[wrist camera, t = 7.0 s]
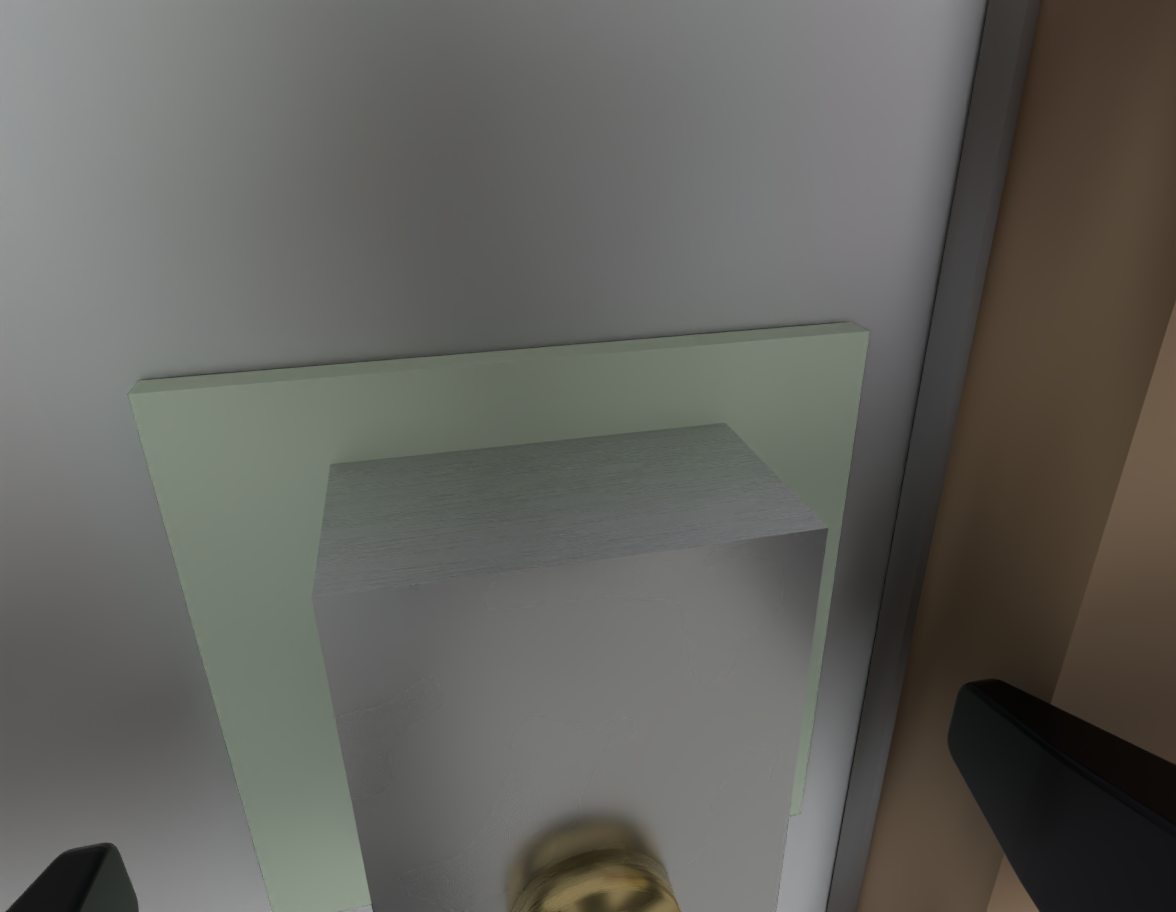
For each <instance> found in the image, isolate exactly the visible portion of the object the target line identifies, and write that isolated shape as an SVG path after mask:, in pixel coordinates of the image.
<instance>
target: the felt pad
mask: <svg viewBox="0 0 1176 912" xmlns="http://www.w3.org/2000/svg"><path fill="white" fill-rule="evenodd" d="M869 334H870V331H869V330H867V329H865V328H863V327H861V326H860V325H858V324H856V323H854V322H843V323H831V324H818V325H806V326H794V327H782V328H770V329H758V330H746V331H734V332H721V333H709V334H697V335H685V336H673V337H661V338H649V339H637V340H624V341H612V342H600V343H588V344H576V345H564V346H552V347H540V348H528V349H515V350H503V351H491V352H479V353H467V354H455V355H443V356H431V357H418V358H406V359H394V360H382V361H370V362H358V363H346V364H334V365H321V366H309V367H297V368H285V369H273V370H261V371H249V372H237V373H225V374H212V375H200V376H188V377H176V378H164V379H152V380H140V381H138V382H137V383H136V384H135V386H134V387H133V388H132V389H131V391H130V392H129V393H128V394H127V395H128V398H129V402H130V405H131V409H132V412H133V416H134V420H135V423H136V427H137V430H138V434H139V437H140V441H141V444H142V448H143V452H144V455H145V459H146V462H147V466H148V469H149V473H150V477H151V480H152V484H153V487H154V491H155V494H156V498H157V502H158V505H159V509H160V512H161V516H162V519H163V523H164V527H165V530H166V534H167V537H168V541H169V544H170V548H171V551H172V555H173V559H174V562H175V566H176V569H177V573H178V576H179V580H180V584H181V587H182V591H183V594H184V598H185V601H186V605H187V609H188V612H189V616H190V619H191V623H192V626H193V630H194V634H195V637H196V641H197V644H198V648H199V651H200V655H201V658H202V662H203V666H204V669H205V673H206V676H207V680H208V683H209V687H210V691H211V694H212V698H213V701H214V705H215V708H216V712H217V716H218V719H219V723H220V726H221V730H222V733H223V737H224V741H225V744H226V748H227V751H228V755H229V758H230V762H231V765H232V769H233V773H234V776H235V780H236V783H237V787H238V790H239V794H240V798H241V801H242V805H243V808H244V812H245V815H246V819H247V823H248V826H249V830H250V833H251V837H252V840H253V844H254V848H255V851H256V855H257V858H258V862H259V865H260V869H261V872H262V876H263V880H264V883H265V887H266V890H267V894H268V897H269V901H270V905H271V908H272V912H339V911H344V910H349V909H354V908H358V907H363V906H368V905H372V904H371V899H370V894H369V888H368V883H367V878H366V873H365V868H364V863H363V858H362V853H361V848H360V843H359V838H358V833H357V827H356V822H355V817H354V812H353V807H352V802H351V797H350V792H349V787H348V782H347V777H346V772H345V767H344V761H343V756H342V751H341V746H340V741H339V736H338V731H337V726H336V721H335V716H334V711H333V706H332V700H331V695H330V690H329V685H328V680H327V675H326V670H325V665H324V660H323V655H322V650H321V645H320V639H319V634H318V629H317V624H316V619H315V614H314V609H313V604H312V592H313V584H314V577H315V570H316V563H317V556H318V549H319V542H320V534H321V527H322V520H323V513H324V506H325V499H326V492H327V484H328V477H329V470H330V464H338V463H347V462H357V461H366V460H376V459H385V458H395V457H404V456H414V455H423V454H433V453H442V452H452V451H461V450H470V449H480V448H489V447H499V446H508V445H518V444H527V443H537V442H546V441H556V440H565V439H575V438H584V437H593V436H603V435H612V434H622V433H631V432H641V431H650V430H660V429H669V428H679V427H688V426H698V425H707V424H716V423H726V424H727V425H728V426H729V427H730V428H731V429H732V430H733V431H734V432H735V433H736V434H737V435H738V436H739V437H740V438H741V439H742V440H743V441H744V442H745V443H746V444H747V445H748V446H749V447H750V448H751V449H752V450H753V451H754V452H755V453H756V455H757V456H758V457H759V458H760V459H761V460H762V461H763V462H764V463H765V464H766V465H767V466H768V467H769V468H770V469H771V470H772V471H773V472H774V473H775V474H776V475H777V476H778V477H779V478H780V479H781V480H782V481H783V482H784V483H785V484H786V485H787V486H788V487H789V488H790V489H791V490H792V491H793V492H794V494H795V495H796V496H797V497H798V498H799V499H800V500H801V501H802V502H803V503H804V504H805V505H806V506H807V507H808V508H809V509H810V510H811V511H812V512H813V513H814V514H815V515H816V516H817V517H818V518H819V519H820V520H821V521H822V522H823V523H824V524H825V525H826V526H827V527H828V534H827V541H826V549H825V556H824V563H823V571H822V578H821V585H820V593H819V600H818V607H817V615H816V622H815V629H814V637H813V644H812V651H811V659H810V666H809V673H808V681H807V688H806V695H805V703H804V710H803V717H802V725H801V732H800V739H799V747H798V754H797V761H796V769H795V776H794V783H793V791H792V798H791V805H790V813H789V816H793V815H798V814H800V812H801V805H802V798H803V791H804V784H805V777H806V770H807V763H808V757H809V750H810V743H811V736H812V729H813V722H814V715H815V708H816V701H817V694H818V687H819V680H820V673H821V666H822V659H823V653H824V646H825V639H826V632H827V625H828V618H829V611H830V604H831V597H832V590H833V583H834V576H835V569H836V562H837V556H838V549H839V542H840V535H841V528H842V521H843V514H844V507H845V500H846V493H847V486H848V479H849V472H850V465H851V458H852V452H853V445H854V438H855V431H856V424H857V417H858V410H859V403H860V396H861V389H862V382H863V375H864V368H865V361H866V355H867V348H868V341H869Z"/></svg>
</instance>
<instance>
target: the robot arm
mask: <svg viewBox="0 0 1176 912" xmlns="http://www.w3.org/2000/svg"><path fill="white" fill-rule="evenodd" d="M947 744H948V749H949V752H950V755H951V757H952V759H953V761H954V763H955V765H956V767H957V769H958V770H959V772H960V774H961V776H962V778H963V780H964V781H965V783H966V785H967V787H968V789H969V791H970V792H971V794H972V796H973V798H974V800H975V802H976V803H977V805H978V807H979V809H980V811H981V813H982V814H983V816H984V818H985V820H986V822H987V824H988V825H989V827H990V829H991V831H992V833H993V835H994V836H995V838H996V840H997V842H998V844H999V846H1000V847H1001V849H1002V851H1003V853H1004V855H1005V857H1006V858H1007V860H1008V862H1009V864H1010V865H1011V867H1012V869H1013V871H1014V872H1015V874H1016V876H1017V877H1018V879H1019V881H1020V883H1021V884H1022V886H1023V887H1024V889H1025V890H1026V892H1027V894H1028V895H1029V897H1030V898H1031V900H1032V901H1033V903H1034V904H1035V906H1036V907H1037V909H1038V910H1039V912H1176V765H1175V764H1173V763H1171V762H1169V761H1167V760H1165V759H1163V758H1161V757H1159V756H1157V755H1155V754H1153V753H1151V752H1149V751H1147V750H1145V749H1142V748H1140V747H1138V746H1136V745H1134V744H1132V743H1130V742H1128V741H1126V740H1124V739H1122V738H1120V737H1118V736H1116V735H1114V734H1112V733H1109V732H1107V731H1105V730H1103V729H1101V728H1099V727H1097V726H1095V725H1093V724H1091V723H1089V722H1087V721H1085V720H1083V719H1081V718H1078V717H1076V716H1074V715H1072V714H1070V713H1068V712H1066V711H1064V710H1062V709H1060V708H1058V707H1056V706H1054V705H1052V704H1050V703H1048V702H1045V701H1043V700H1041V699H1039V698H1037V697H1035V696H1033V695H1031V694H1029V693H1027V692H1025V691H1023V690H1021V689H1019V688H1017V687H1015V686H1012V685H1010V684H1008V683H1006V682H1004V681H1002V680H999V679H994V678H989V679H983V680H978V681H972V682H967V683H965V684H963V685H962V686H961V687H960V688H959V689H958V692H957V694H956V699H955V703H954V707H953V711H952V715H951V719H950V724H949V728H948V732H947ZM6 912H139V908H138V901H137V897H136V894H135V891H134V889H133V886H132V883H131V881H130V878H129V876H128V873H127V871H126V868H125V865H124V863H123V860H122V858H121V855H120V853H119V851H118V849H117V847H116V846H114V845H113V844H111V843H100V844H95V845H89V846H84V847H79V848H73V849H69V850H67V851H65V852H63V853H62V854H60V855H59V856H58V857H57V858H56V859H55V860H54V861H53V862H52V863H51V864H50V865H49V866H48V867H47V868H46V869H45V870H44V871H43V872H42V873H41V874H40V876H39V877H38V878H37V879H36V880H35V881H34V882H33V883H32V884H31V885H30V886H29V887H28V888H27V889H26V891H25V892H24V893H23V894H22V895H21V896H20V897H19V898H18V899H17V900H16V901H15V902H14V903H13V904H12V905H11V907H10V908H9V909H8V910H7V911H6Z"/></svg>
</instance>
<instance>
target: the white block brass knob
mask: <svg viewBox="0 0 1176 912" xmlns="http://www.w3.org/2000/svg"><path fill="white" fill-rule="evenodd" d="M827 534H828V527H827V526H826V525H825V524H824V523H823V522H822V521H821V520H820V519H819V518H818V517H817V516H816V515H815V514H814V513H813V512H812V511H811V510H810V509H809V508H808V507H807V506H806V505H805V504H804V503H803V502H802V501H801V500H800V499H799V498H798V497H797V496H796V495H795V494H794V492H793V491H792V490H791V489H790V488H789V487H788V486H787V485H786V484H785V483H784V482H783V481H782V480H781V479H780V478H779V477H778V476H777V475H776V474H775V473H774V472H773V471H772V470H771V469H770V468H769V467H768V466H767V465H766V464H765V463H764V462H763V461H762V460H761V459H760V458H759V457H758V456H757V455H756V453H755V452H754V451H753V450H752V449H751V448H750V447H749V446H748V445H747V444H746V443H745V442H744V441H743V440H742V439H741V438H740V437H739V436H738V435H737V434H736V433H735V432H734V431H733V430H732V429H731V428H730V427H729V426H728V425H727V424H726V423H716V424H707V425H698V426H688V427H679V428H669V429H660V430H650V431H641V432H631V433H622V434H612V435H603V436H593V437H584V438H575V439H565V440H556V441H546V442H537V443H527V444H518V445H508V446H499V447H489V448H480V449H470V450H461V451H452V452H442V453H433V454H423V455H414V456H404V457H395V458H385V459H376V460H366V461H357V462H347V463H338V464H330V470H329V477H328V484H327V492H326V499H325V506H324V513H323V520H322V527H321V534H320V542H319V549H318V556H317V563H316V570H315V577H314V584H313V592H312V604H313V609H314V614H315V619H316V624H317V629H318V634H319V639H320V645H321V650H322V655H323V660H324V665H325V670H326V675H327V680H328V685H329V690H330V695H331V700H332V706H333V711H334V716H335V721H336V726H337V731H338V736H339V741H340V746H341V751H342V756H343V761H344V767H345V772H346V777H347V782H348V787H349V792H350V797H351V802H352V807H353V812H354V817H355V822H356V827H357V833H358V838H359V843H360V848H361V853H362V858H363V863H364V868H365V873H366V878H367V883H368V888H369V894H370V899H371V904H372V909H373V912H776V908H777V901H778V893H779V886H780V879H781V871H782V864H783V857H784V849H785V842H786V835H787V827H788V820H789V813H790V805H791V798H792V791H793V783H794V776H795V769H796V761H797V754H798V747H799V739H800V732H801V725H802V717H803V710H804V703H805V695H806V688H807V681H808V673H809V666H810V659H811V651H812V644H813V637H814V629H815V622H816V615H817V607H818V600H819V593H820V585H821V578H822V571H823V563H824V556H825V549H826V541H827Z"/></svg>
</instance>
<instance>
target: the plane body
mask: <svg viewBox="0 0 1176 912" xmlns="http://www.w3.org/2000/svg"><path fill="white" fill-rule="evenodd" d="M989 678H994V679H999V680H1002V681H1004V682H1006V683H1008V684H1010V685H1012V686H1015V687H1017V688H1019V689H1021V690H1023V691H1025V692H1027V693H1029V694H1031V695H1033V696H1035V697H1037V698H1039V699H1041V700H1043V701H1045V702H1048V703H1050V704H1052V705H1054V706H1056V707H1058V708H1060V709H1062V710H1064V711H1066V712H1068V713H1070V714H1072V715H1074V716H1076V717H1078V718H1081V719H1083V720H1085V721H1087V722H1089V723H1091V724H1093V725H1095V726H1097V727H1099V728H1101V729H1103V730H1105V731H1107V732H1109V733H1112V734H1114V735H1116V736H1118V737H1120V738H1122V739H1124V740H1126V741H1128V742H1130V743H1132V744H1134V745H1136V746H1138V747H1140V748H1142V749H1145V750H1147V751H1149V752H1151V753H1153V754H1155V755H1157V756H1159V757H1161V758H1163V759H1165V760H1167V761H1169V762H1171V763H1173V764H1175V765H1176V0H989V3H988V9H987V14H986V20H985V26H984V31H983V37H982V42H981V48H980V54H979V59H978V65H977V70H976V76H975V82H974V87H973V93H972V99H971V104H970V110H969V115H968V121H967V127H966V132H965V138H964V144H963V149H962V155H961V160H960V166H959V172H958V177H957V183H956V188H955V194H954V200H953V205H952V211H951V217H950V222H949V228H948V233H947V239H946V245H945V250H944V256H943V262H942V267H941V273H940V278H939V284H938V290H937V295H936V301H935V306H934V312H933V318H932V323H931V329H930V335H929V340H928V346H927V351H926V357H925V363H924V368H923V374H922V380H921V385H920V391H919V396H918V402H917V408H916V413H915V419H914V425H913V430H912V436H911V441H910V447H909V453H908V458H907V464H906V469H905V475H904V481H903V486H902V492H901V498H900V503H899V509H898V514H897V520H896V526H895V531H894V537H893V543H892V548H891V554H890V559H889V565H888V571H887V576H886V582H885V587H884V593H883V599H882V604H881V610H880V616H879V621H878V627H877V632H876V638H875V644H874V649H873V655H872V661H871V666H870V672H869V677H868V683H867V689H866V694H865V700H864V706H863V711H862V717H861V722H860V728H859V734H858V739H857V745H856V750H855V756H854V762H853V767H852V773H851V779H850V784H849V790H848V795H847V801H846V807H845V812H844V818H843V824H842V829H841V835H840V840H839V846H838V852H837V857H836V863H835V868H834V874H833V880H832V885H831V891H830V897H829V902H828V908H827V912H1039V910H1038V909H1037V907H1036V906H1035V904H1034V903H1033V901H1032V900H1031V898H1030V897H1029V895H1028V894H1027V892H1026V890H1025V889H1024V887H1023V886H1022V884H1021V883H1020V881H1019V879H1018V877H1017V876H1016V874H1015V872H1014V871H1013V869H1012V867H1011V865H1010V864H1009V862H1008V860H1007V858H1006V857H1005V855H1004V853H1003V851H1002V849H1001V847H1000V846H999V844H998V842H997V840H996V838H995V836H994V835H993V833H992V831H991V829H990V827H989V825H988V824H987V822H986V820H985V818H984V816H983V814H982V813H981V811H980V809H979V807H978V805H977V803H976V802H975V800H974V798H973V796H972V794H971V792H970V791H969V789H968V787H967V785H966V783H965V781H964V780H963V778H962V776H961V774H960V772H959V770H958V769H957V767H956V765H955V763H954V761H953V759H952V757H951V755H950V752H949V749H948V744H947V732H948V728H949V724H950V719H951V715H952V711H953V707H954V703H955V699H956V694H957V692H958V689H959V688H960V687H961V686H962V685H963V684H965V683H967V682H972V681H978V680H983V679H989Z"/></svg>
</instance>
